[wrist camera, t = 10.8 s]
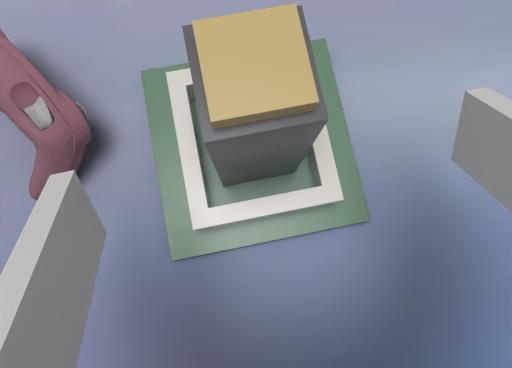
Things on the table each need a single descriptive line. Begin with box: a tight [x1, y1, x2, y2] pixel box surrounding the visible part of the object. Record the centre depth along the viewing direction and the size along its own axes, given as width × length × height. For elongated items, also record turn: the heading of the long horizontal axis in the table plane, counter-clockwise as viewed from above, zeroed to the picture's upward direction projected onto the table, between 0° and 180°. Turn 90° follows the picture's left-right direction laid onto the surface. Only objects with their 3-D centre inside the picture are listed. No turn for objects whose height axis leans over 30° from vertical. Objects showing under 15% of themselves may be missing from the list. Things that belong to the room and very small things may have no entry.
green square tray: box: [141, 38, 370, 261], centre depth 22 cm, size 12×12×3 cm
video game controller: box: [0, 29, 92, 200], centre depth 21 cm, size 10×5×7 cm, turn 46°
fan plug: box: [182, 3, 329, 187], centre depth 18 cm, size 4×5×11 cm
